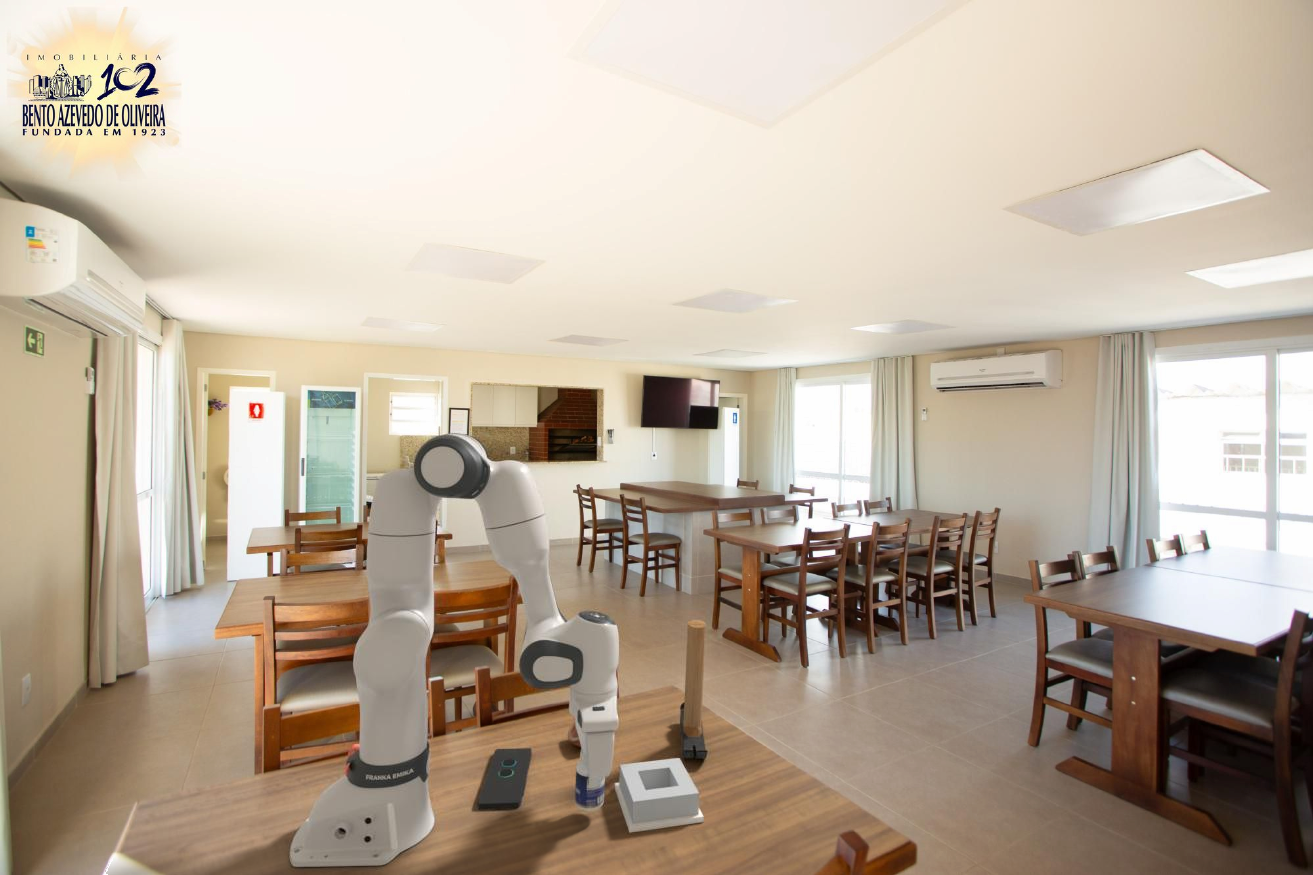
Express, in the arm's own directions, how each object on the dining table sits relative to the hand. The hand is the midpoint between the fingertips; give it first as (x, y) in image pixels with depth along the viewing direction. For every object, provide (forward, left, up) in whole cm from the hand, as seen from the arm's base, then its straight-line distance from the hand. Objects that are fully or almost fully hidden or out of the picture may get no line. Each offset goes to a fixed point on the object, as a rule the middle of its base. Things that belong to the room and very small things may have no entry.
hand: (590, 775), depth 111 cm
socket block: (+13, +1, -8) cm, 15 cm away
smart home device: (-15, +16, -8) cm, 23 cm away
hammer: (+27, +22, -8) cm, 36 cm away
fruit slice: (+2, +26, -8) cm, 27 cm away
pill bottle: (0, 0, -5) cm, 5 cm away
